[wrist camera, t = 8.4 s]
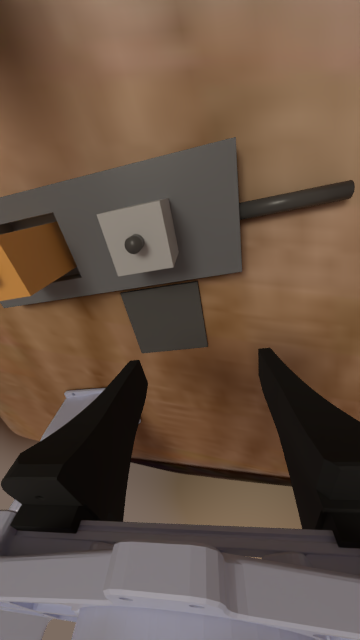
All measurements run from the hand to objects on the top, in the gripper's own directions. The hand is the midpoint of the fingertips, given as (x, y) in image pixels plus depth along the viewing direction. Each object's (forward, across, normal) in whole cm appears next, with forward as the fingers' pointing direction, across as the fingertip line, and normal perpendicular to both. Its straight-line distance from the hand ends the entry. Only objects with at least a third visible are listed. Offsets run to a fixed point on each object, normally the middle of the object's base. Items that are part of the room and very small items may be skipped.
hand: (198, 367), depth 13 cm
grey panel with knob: (+10, +4, -7) cm, 13 cm away
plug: (+10, +13, -7) cm, 18 cm away
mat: (+10, +4, +2) cm, 11 cm away
